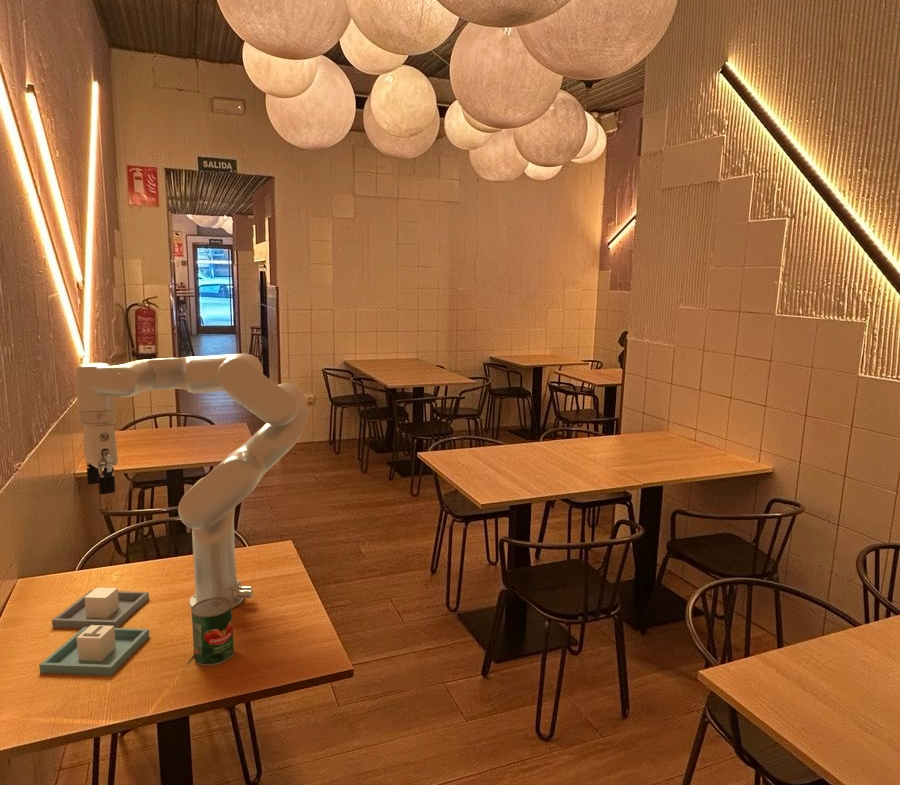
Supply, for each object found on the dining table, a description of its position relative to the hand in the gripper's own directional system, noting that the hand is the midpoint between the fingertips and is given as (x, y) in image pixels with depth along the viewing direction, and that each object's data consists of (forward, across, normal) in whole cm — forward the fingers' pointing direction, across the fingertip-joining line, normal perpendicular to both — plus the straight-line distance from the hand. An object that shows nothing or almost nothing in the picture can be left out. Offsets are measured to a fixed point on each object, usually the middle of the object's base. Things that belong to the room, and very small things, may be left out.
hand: (101, 488), depth 152 cm
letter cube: (+29, -22, +8) cm, 37 cm away
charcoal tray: (+30, -4, +2) cm, 30 cm away
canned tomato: (+29, -38, -10) cm, 49 cm away
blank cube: (+29, -4, +2) cm, 29 cm away
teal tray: (+29, -22, +8) cm, 38 cm away
